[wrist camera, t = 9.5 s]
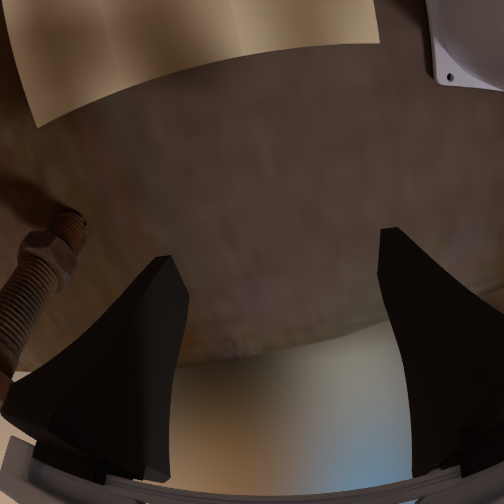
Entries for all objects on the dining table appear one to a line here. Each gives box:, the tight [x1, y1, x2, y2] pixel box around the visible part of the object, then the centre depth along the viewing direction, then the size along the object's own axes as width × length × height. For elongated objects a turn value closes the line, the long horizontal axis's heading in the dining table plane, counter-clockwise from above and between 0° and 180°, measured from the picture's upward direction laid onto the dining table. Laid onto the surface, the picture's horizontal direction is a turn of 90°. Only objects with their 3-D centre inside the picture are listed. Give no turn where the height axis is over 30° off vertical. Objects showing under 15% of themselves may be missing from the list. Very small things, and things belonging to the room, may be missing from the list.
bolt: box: [0, 212, 89, 410], centre depth 16 cm, size 6×5×15 cm
